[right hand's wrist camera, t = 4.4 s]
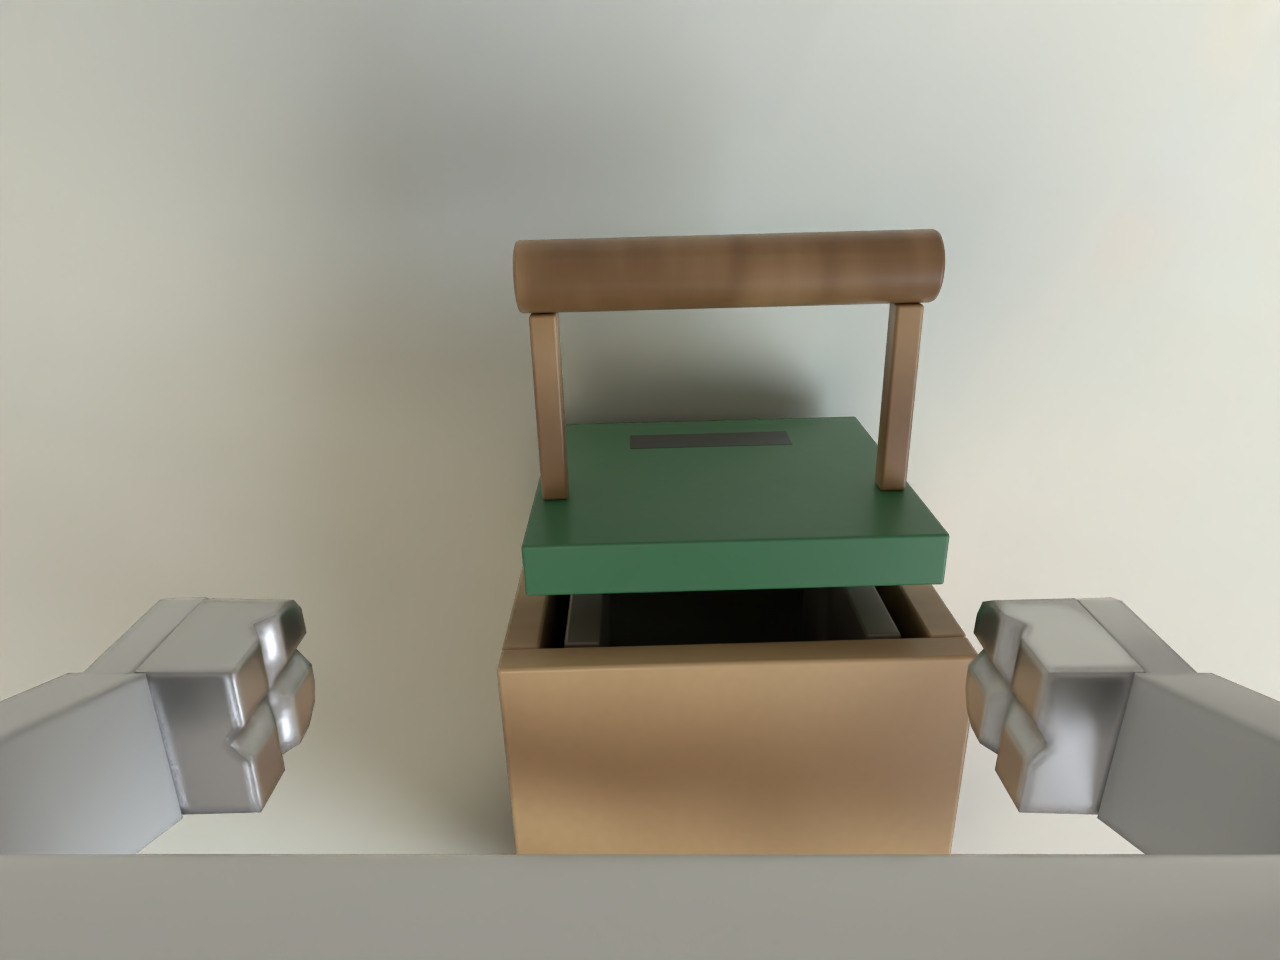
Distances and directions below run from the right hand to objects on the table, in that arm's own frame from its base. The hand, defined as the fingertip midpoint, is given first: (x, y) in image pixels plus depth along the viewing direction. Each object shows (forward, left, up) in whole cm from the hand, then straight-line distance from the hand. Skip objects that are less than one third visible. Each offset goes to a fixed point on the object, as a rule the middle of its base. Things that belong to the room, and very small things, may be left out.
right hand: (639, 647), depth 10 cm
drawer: (+7, 0, -15) cm, 17 cm away
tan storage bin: (+13, -1, -16) cm, 21 cm away
